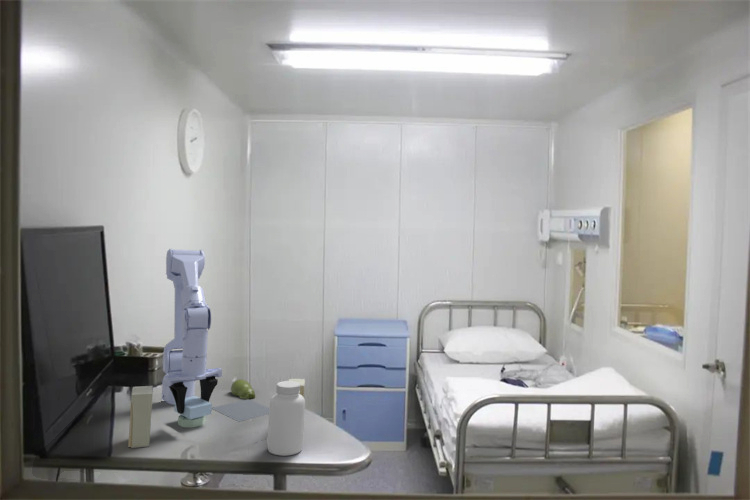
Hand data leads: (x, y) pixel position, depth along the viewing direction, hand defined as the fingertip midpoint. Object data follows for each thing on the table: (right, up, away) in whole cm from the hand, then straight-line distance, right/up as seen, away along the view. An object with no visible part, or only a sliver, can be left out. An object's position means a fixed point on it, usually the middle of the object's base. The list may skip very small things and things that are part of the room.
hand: (192, 409), depth 121 cm
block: (0, -1, 0) cm, 1 cm away
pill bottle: (+25, -6, -11) cm, 28 cm away
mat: (+10, -5, +11) cm, 16 cm away
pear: (+6, -5, +24) cm, 26 cm away
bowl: (0, -4, 0) cm, 4 cm away
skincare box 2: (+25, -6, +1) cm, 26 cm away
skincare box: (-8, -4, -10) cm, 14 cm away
